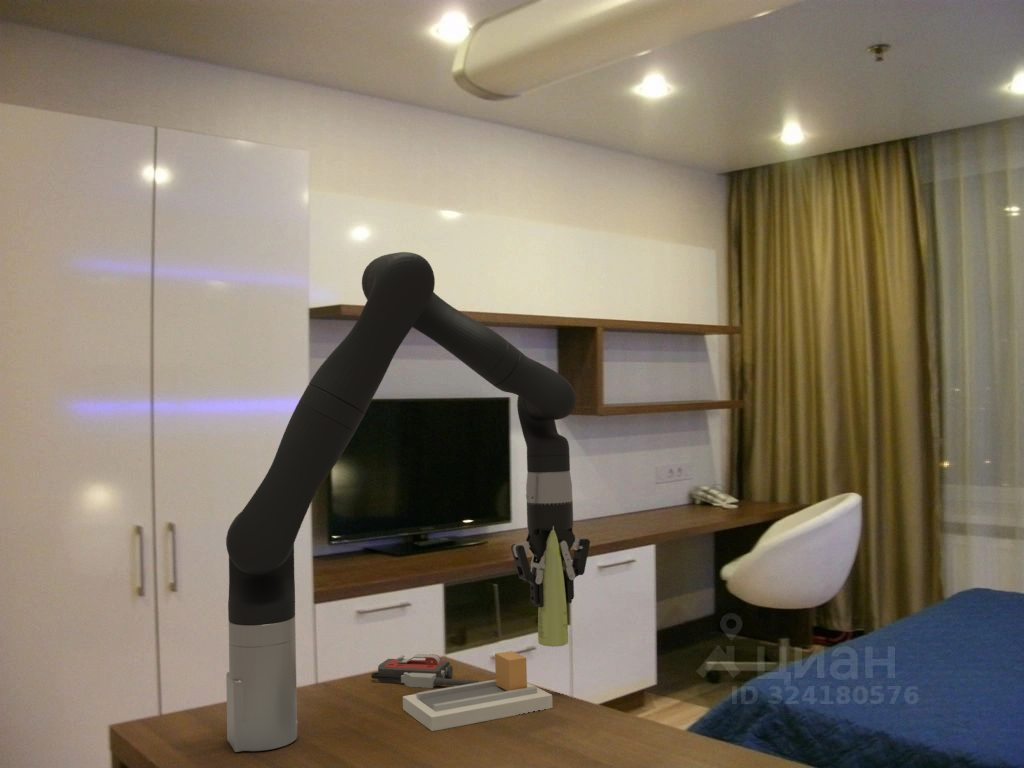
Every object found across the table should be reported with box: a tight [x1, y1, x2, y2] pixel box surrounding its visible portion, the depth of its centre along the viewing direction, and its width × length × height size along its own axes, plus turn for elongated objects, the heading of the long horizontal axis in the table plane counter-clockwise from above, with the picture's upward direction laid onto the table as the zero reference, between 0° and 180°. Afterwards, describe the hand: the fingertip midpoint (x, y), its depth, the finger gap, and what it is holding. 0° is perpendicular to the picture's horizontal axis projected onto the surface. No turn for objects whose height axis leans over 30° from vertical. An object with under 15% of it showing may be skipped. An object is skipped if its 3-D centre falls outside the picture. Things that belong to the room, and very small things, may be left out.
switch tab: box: [494, 650, 528, 691], centre depth 146 cm, size 3×5×5 cm, turn 27°
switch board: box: [402, 678, 553, 732], centre depth 143 cm, size 20×12×3 cm, turn 117°
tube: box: [537, 526, 569, 648], centre depth 150 cm, size 6×5×20 cm
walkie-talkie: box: [371, 653, 480, 689], centre depth 159 cm, size 9×4×20 cm
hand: (552, 604), depth 149 cm, fingers closed on tube, 4 cm apart
